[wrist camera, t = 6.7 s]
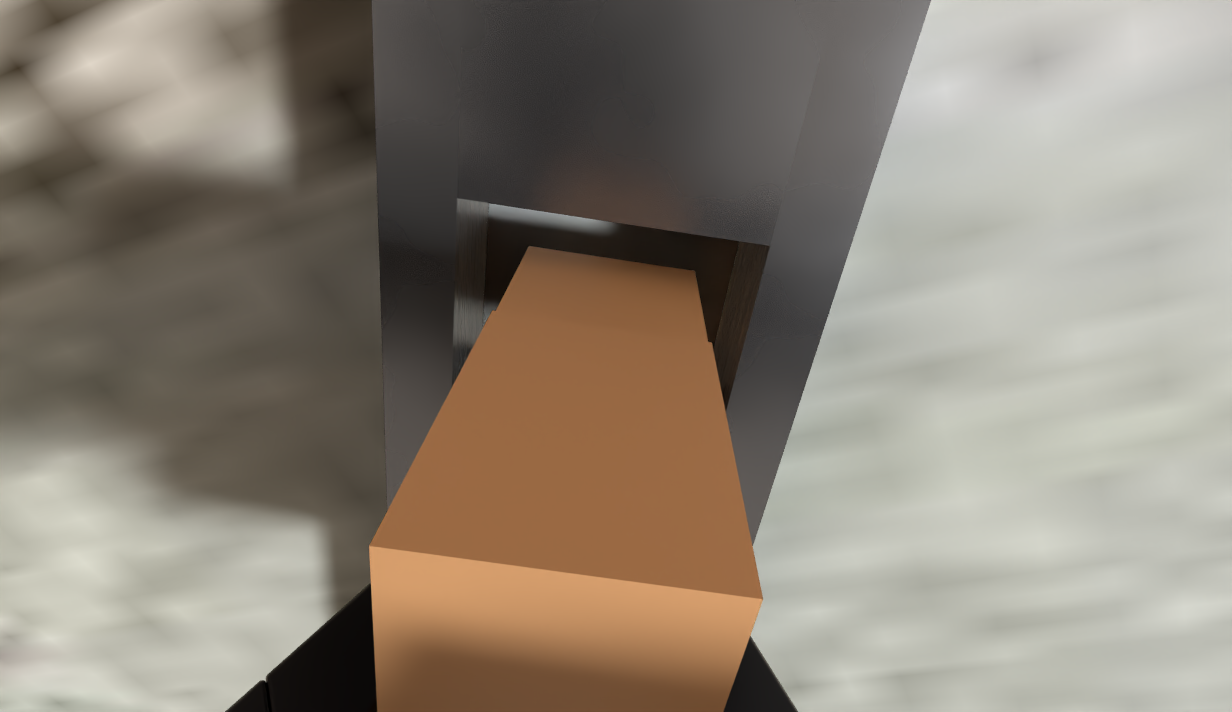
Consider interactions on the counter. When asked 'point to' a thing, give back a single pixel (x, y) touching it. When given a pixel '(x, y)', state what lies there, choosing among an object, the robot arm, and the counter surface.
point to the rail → (630, 171)
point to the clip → (571, 510)
